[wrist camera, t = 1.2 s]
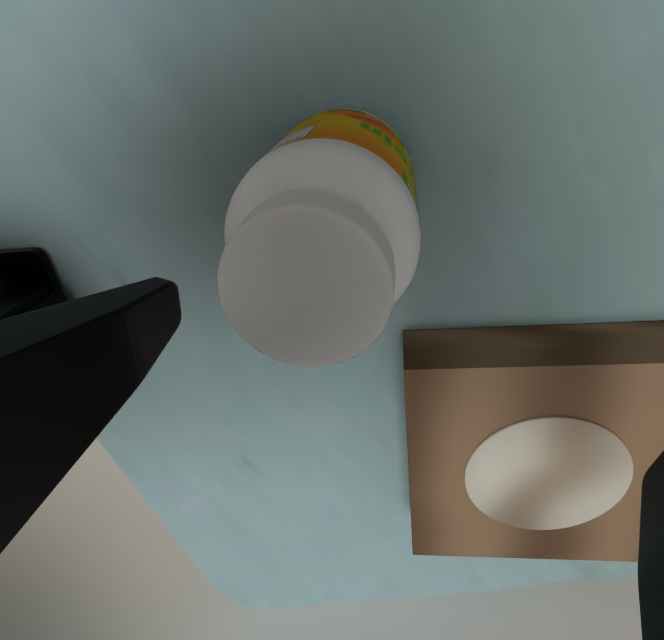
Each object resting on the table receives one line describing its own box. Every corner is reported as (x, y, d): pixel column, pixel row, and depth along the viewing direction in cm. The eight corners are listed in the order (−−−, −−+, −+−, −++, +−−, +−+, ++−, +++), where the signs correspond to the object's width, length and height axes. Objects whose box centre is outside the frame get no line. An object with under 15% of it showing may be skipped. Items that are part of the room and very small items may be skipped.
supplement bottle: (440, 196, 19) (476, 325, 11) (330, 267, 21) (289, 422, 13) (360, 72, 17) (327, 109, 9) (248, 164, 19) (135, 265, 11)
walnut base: (411, 506, 28) (412, 558, 25) (402, 330, 22) (403, 372, 19) (635, 510, 26) (663, 566, 24) (692, 319, 20) (738, 364, 18)
